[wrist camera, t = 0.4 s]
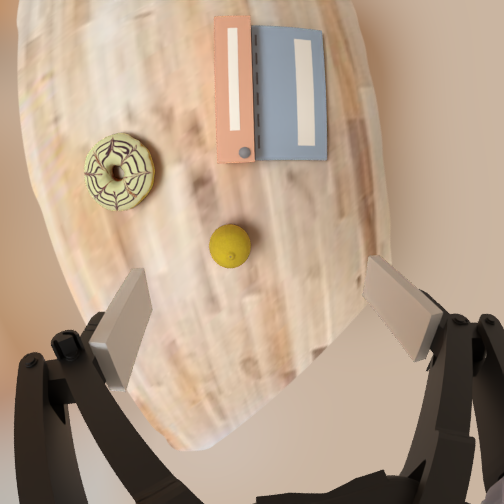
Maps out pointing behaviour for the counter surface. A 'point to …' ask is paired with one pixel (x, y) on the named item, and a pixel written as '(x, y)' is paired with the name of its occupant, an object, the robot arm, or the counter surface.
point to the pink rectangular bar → (233, 89)
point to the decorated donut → (131, 161)
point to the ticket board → (288, 93)
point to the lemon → (229, 246)
